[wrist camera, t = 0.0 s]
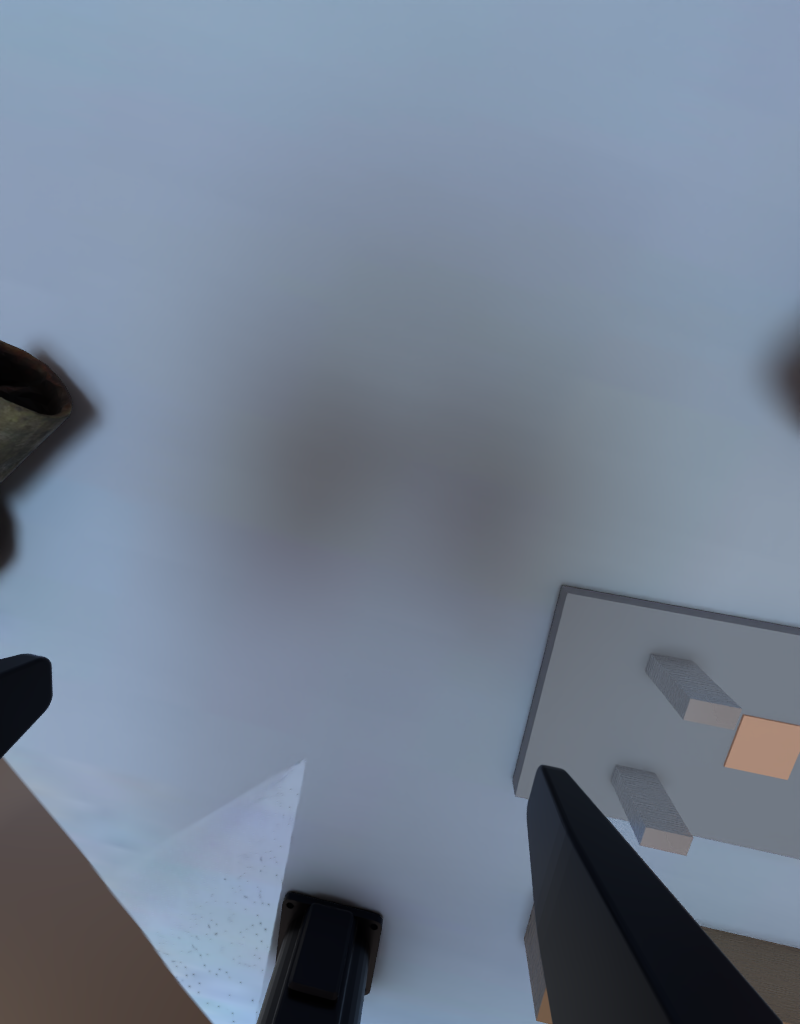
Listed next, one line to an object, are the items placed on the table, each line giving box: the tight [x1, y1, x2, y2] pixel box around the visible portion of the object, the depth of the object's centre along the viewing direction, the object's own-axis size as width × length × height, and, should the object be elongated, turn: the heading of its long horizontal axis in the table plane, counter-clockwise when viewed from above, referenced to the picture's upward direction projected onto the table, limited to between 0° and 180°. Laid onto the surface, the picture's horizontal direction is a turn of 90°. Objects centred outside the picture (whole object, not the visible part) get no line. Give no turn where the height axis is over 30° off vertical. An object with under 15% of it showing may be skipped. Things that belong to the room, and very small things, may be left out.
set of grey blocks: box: [610, 653, 742, 856], centre depth 19 cm, size 8×13×4 cm, turn 81°
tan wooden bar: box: [524, 904, 800, 1024], centre depth 23 cm, size 4×16×4 cm, turn 82°
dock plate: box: [513, 585, 800, 859], centre depth 21 cm, size 12×22×1 cm, turn 81°
